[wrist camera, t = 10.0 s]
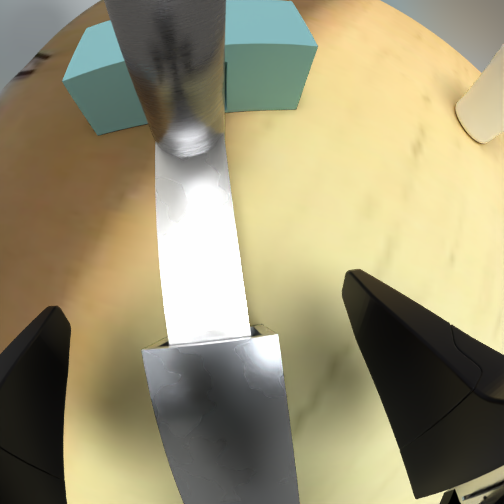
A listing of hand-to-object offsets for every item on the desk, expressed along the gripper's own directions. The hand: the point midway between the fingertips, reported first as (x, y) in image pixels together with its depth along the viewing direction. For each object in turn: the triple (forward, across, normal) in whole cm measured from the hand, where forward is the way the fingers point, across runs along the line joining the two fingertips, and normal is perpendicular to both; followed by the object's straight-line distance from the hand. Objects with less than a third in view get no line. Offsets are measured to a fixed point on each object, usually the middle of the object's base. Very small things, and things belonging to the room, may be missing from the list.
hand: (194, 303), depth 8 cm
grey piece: (+7, 0, +1) cm, 7 cm away
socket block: (+16, 0, -6) cm, 17 cm away
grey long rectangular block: (0, 0, +10) cm, 10 cm away
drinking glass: (+14, -27, -4) cm, 31 cm away
